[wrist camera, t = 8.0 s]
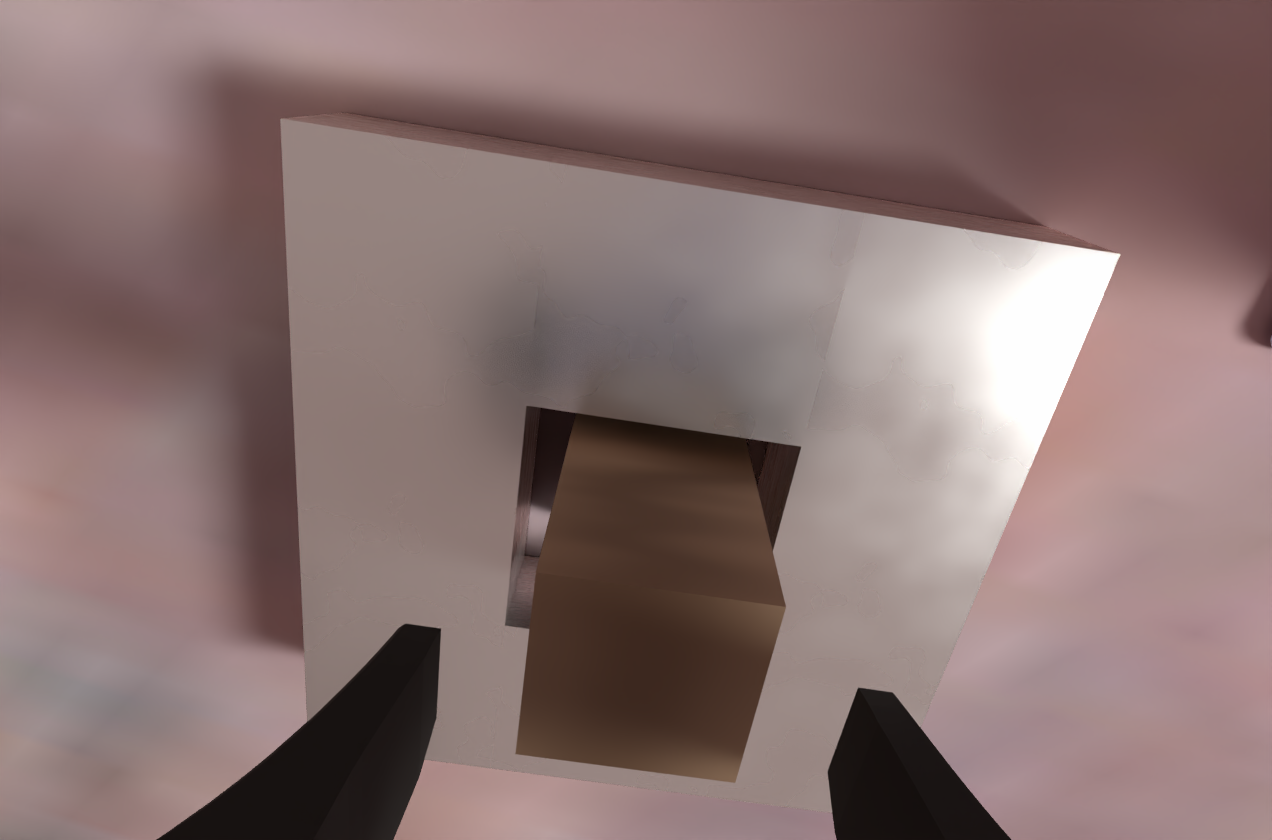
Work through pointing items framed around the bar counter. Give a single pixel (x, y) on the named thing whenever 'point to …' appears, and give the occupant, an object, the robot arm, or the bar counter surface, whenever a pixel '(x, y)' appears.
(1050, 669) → the bar counter surface
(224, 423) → the bar counter surface
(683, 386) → the collar
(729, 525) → the pin
